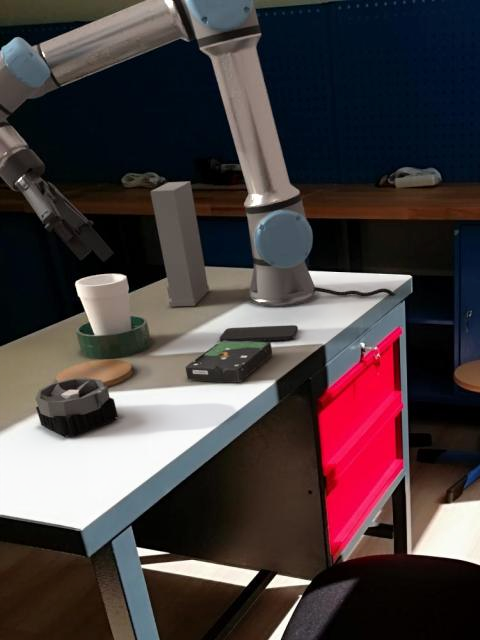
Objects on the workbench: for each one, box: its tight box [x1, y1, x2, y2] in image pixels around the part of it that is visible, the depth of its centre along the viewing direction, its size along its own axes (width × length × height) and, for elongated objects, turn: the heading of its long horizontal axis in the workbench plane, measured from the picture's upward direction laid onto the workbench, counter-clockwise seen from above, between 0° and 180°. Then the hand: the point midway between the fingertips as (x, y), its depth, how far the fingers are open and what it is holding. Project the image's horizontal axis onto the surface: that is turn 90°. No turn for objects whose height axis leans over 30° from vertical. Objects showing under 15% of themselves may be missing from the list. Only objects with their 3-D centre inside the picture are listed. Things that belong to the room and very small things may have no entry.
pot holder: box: [55, 359, 133, 387], centre depth 137 cm, size 13×13×1 cm
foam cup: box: [74, 273, 132, 335], centre depth 148 cm, size 10×9×13 cm
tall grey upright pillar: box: [150, 180, 210, 308], centre depth 175 cm, size 14×6×25 cm, turn 178°
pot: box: [75, 314, 152, 360], centre depth 150 cm, size 13×13×4 cm
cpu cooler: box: [35, 378, 119, 438], centre depth 118 cm, size 10×6×10 cm
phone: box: [219, 324, 299, 343], centre depth 153 cm, size 7×1×15 cm
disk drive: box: [184, 340, 273, 383], centre depth 137 cm, size 10×3×15 cm
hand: (98, 256), depth 144 cm, fingers open, 13 cm apart
